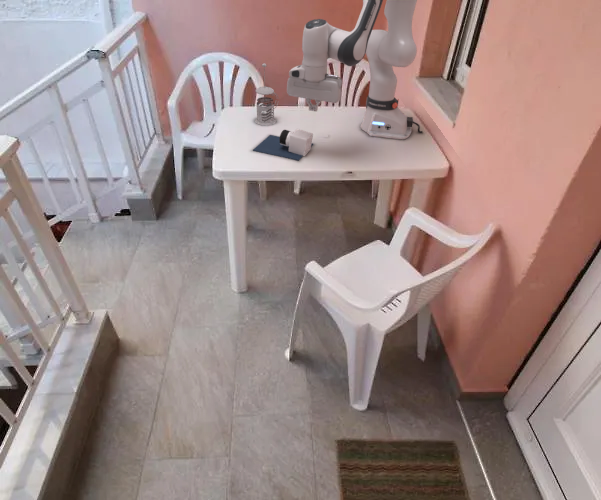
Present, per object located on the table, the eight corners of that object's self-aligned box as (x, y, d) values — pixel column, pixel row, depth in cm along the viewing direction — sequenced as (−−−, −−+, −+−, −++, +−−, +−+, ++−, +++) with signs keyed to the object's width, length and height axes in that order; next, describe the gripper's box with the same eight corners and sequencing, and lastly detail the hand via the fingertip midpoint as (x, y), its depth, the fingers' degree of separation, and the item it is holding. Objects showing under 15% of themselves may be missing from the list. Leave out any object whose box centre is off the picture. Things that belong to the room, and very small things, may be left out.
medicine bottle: (313, 133, 164) (285, 124, 166) (307, 140, 158) (278, 131, 161) (310, 149, 168) (283, 141, 171) (304, 156, 163) (276, 148, 165)
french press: (250, 119, 190) (247, 62, 174) (271, 114, 195) (270, 58, 180) (262, 127, 184) (260, 68, 168) (283, 121, 189) (283, 63, 174)
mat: (313, 144, 172) (313, 143, 172) (298, 160, 160) (298, 159, 160) (270, 135, 177) (270, 134, 177) (252, 150, 166) (252, 149, 166)
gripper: (345, 73, 145) (342, 112, 154) (291, 66, 151) (291, 103, 160) (339, 78, 141) (336, 118, 150) (284, 70, 146) (285, 109, 155)
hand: (313, 110), depth 155 cm, fingers closed
